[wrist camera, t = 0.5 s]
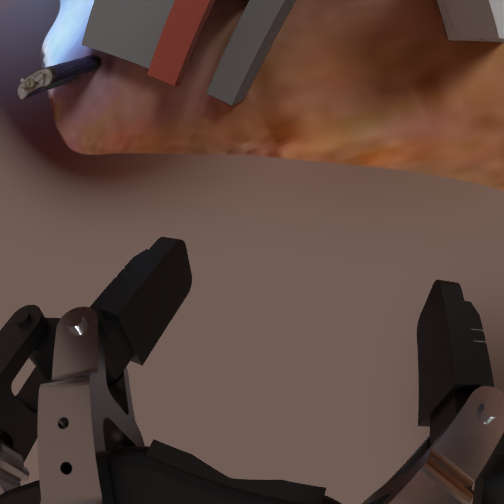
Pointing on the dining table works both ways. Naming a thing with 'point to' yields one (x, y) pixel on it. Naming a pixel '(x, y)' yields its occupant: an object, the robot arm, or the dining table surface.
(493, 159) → the dining table surface
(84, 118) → the dining table surface
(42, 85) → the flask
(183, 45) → the tip lever
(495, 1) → the supplement box
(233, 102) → the pocket board
